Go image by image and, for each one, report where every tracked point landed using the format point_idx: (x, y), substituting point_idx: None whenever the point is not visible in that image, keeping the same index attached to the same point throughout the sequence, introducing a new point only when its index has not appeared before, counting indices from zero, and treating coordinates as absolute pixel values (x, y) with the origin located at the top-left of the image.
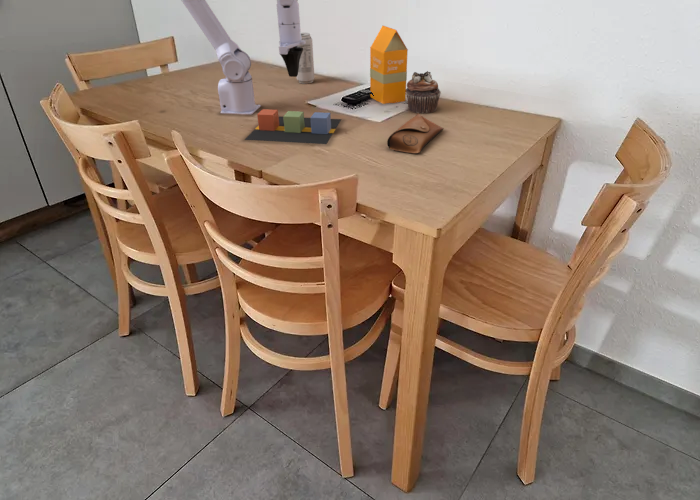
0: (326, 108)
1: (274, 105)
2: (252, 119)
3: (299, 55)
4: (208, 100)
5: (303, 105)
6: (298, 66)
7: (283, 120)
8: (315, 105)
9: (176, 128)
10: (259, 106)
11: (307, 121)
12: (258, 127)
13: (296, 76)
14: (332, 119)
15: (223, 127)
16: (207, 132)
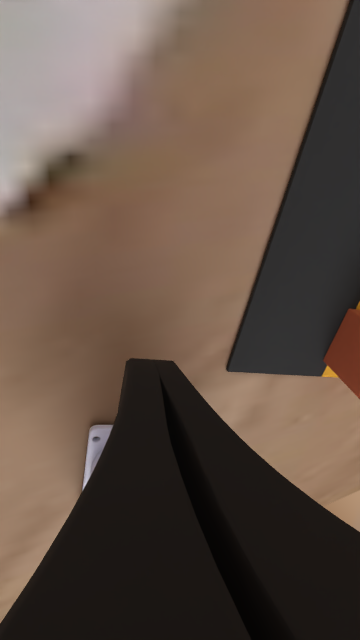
0: (104, 66)
1: (64, 379)
2: (241, 409)
3: (205, 553)
4: (26, 572)
5: (49, 239)
6: (145, 409)
7: (297, 303)
8: (41, 158)
9: None
10: (110, 427)
11: (341, 189)
12: None
13: (166, 360)
14: (358, 18)
15: (296, 457)
16: (323, 476)
